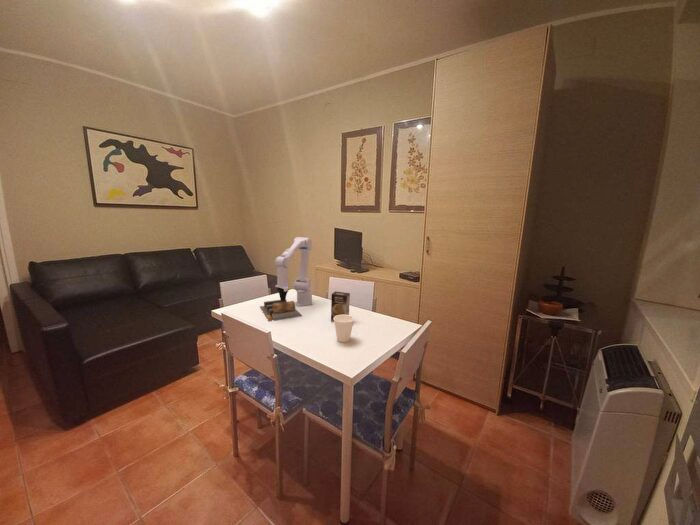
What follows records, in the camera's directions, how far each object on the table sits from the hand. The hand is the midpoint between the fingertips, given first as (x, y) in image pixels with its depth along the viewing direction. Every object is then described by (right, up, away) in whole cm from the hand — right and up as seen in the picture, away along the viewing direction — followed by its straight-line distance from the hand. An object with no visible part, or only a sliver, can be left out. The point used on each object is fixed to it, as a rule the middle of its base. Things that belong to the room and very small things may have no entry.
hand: (282, 300), depth 161 cm
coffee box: (+33, -11, -3) cm, 35 cm away
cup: (+36, -16, -27) cm, 47 cm away
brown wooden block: (0, -9, +2) cm, 9 cm away
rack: (-4, -8, +8) cm, 12 cm away
